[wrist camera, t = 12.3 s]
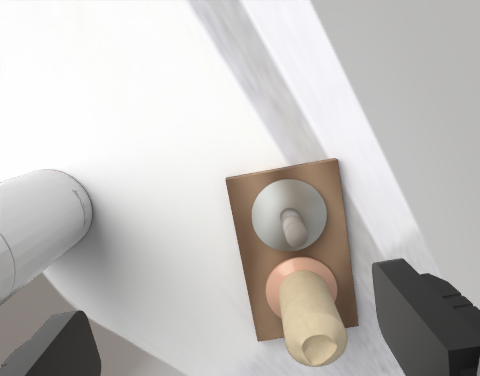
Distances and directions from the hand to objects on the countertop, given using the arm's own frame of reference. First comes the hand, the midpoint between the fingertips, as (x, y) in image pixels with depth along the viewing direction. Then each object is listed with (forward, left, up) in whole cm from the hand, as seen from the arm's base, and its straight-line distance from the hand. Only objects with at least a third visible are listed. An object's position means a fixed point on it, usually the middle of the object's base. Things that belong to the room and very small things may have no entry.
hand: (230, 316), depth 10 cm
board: (+4, -12, -30) cm, 33 cm away
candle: (+4, -16, -28) cm, 33 cm away
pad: (+4, -16, -29) cm, 33 cm away
